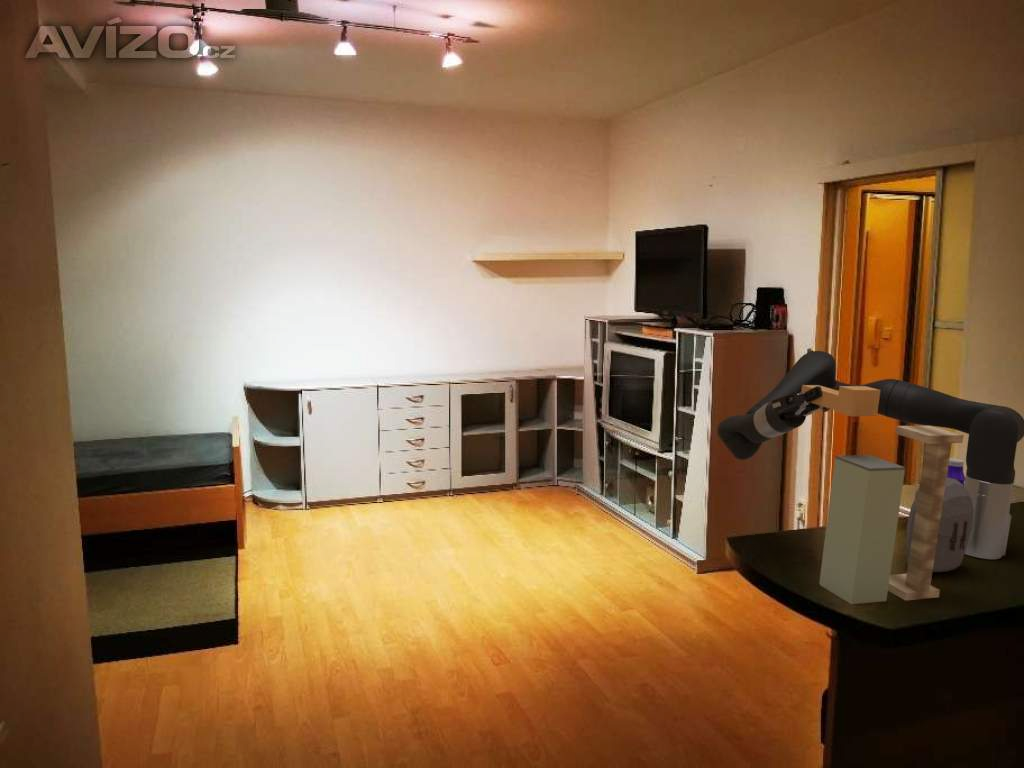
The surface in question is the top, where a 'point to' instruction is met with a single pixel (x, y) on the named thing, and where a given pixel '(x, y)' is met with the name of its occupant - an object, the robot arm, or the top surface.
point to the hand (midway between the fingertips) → (829, 390)
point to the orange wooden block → (848, 399)
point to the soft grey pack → (948, 526)
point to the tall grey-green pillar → (861, 528)
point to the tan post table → (925, 512)
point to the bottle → (956, 470)
